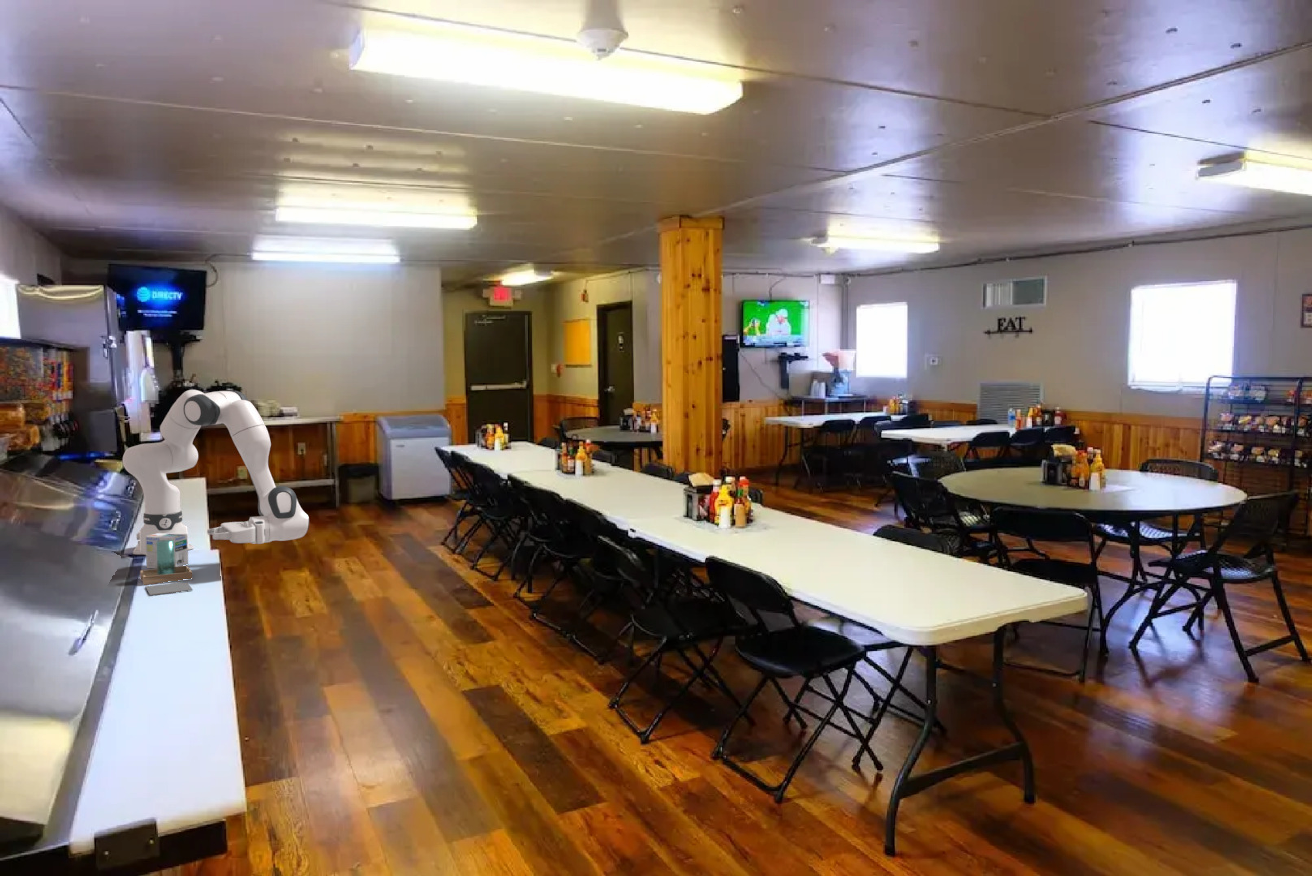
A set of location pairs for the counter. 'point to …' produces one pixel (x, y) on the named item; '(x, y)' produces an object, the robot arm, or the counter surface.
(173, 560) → the teal translucent cylinder
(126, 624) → the counter surface
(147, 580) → the wooden frame
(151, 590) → the rubber mat
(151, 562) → the light bulb box
